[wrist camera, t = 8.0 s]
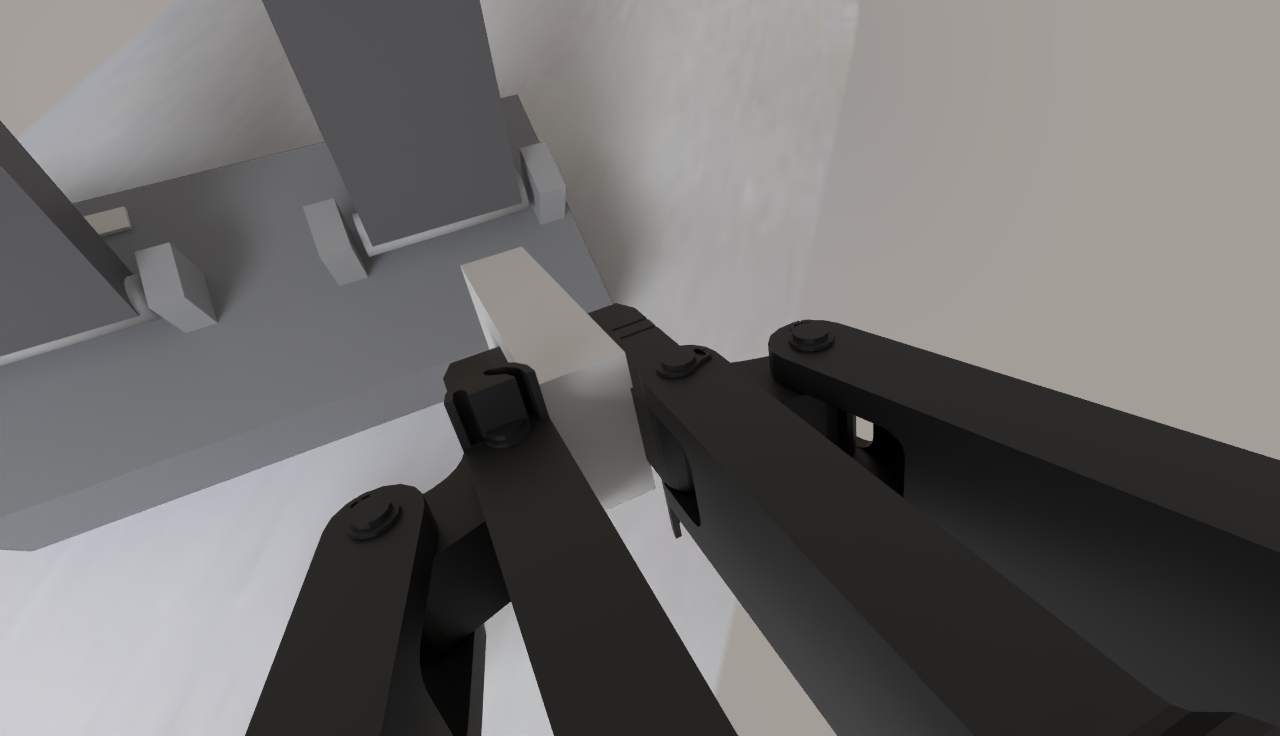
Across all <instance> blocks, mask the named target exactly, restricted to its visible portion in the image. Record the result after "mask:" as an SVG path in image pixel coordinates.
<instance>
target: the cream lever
mask: <svg viewBox="0 0 1280 736" xmlns="http://www.w3.org/2000/svg"><path fill="white" fill-rule="evenodd" d="M161 318H162V317H161V316H160V315H159V314H157V313H156V312H154V311H153V310H151V309H150V308H149V307H148V304H147V300H146V296H145V292H144V288H143V284H142V280H141V276H140V274H135V275H133V273H132V272H131V271H130V270H129V269H128V268H127V266H126V265H125V264H124V263H123V262H122V261H121V260H120V258H119V257H118V256H117V255H116V254H115V253H114V251H113V250H112V249H111V248H110V247H109V246H108V245H107V243H106V242H105V241H104V240H103V239H102V238H101V236H100V235H99V234H98V233H97V232H96V231H95V230H94V228H93V227H92V226H91V225H90V224H89V223H88V221H87V220H86V219H85V218H84V217H83V216H82V214H81V213H80V212H79V211H78V210H77V209H76V208H75V206H74V205H73V204H72V203H71V202H70V201H69V199H68V198H67V197H66V196H65V195H64V194H63V193H62V191H61V190H60V189H59V188H58V187H57V186H56V184H55V183H54V182H53V181H52V180H51V179H50V177H49V176H48V175H47V174H46V173H45V172H44V171H43V169H42V168H41V167H40V166H39V165H38V164H37V162H36V161H35V160H34V159H33V158H32V157H31V156H30V154H29V153H28V152H27V151H26V150H25V149H24V147H23V146H22V145H21V144H20V143H19V142H18V140H17V139H16V138H15V137H14V136H13V135H12V134H11V132H10V131H9V130H8V129H7V128H6V127H5V125H4V124H3V123H2V122H1V121H0V366H2V365H6V364H9V363H13V362H16V361H19V360H23V359H26V358H29V357H33V356H36V355H40V354H43V353H46V352H50V351H53V350H56V349H60V348H63V347H67V346H70V345H73V344H77V343H80V342H83V341H87V340H90V339H94V338H97V337H100V336H104V335H107V334H110V333H114V332H117V331H121V330H124V329H127V328H131V327H134V326H138V325H141V324H144V323H148V322H151V321H154V320H158V319H161Z"/></svg>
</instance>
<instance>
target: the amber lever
mask: <svg viewBox="0 0 1280 736" xmlns="http://www.w3.org/2000/svg"><path fill="white" fill-rule="evenodd" d="M262 1H263V3H264V6H265V8H266V10H267V12H268V15H269V17H270V19H271V21H272V23H273V26H274V28H275V30H276V32H277V35H278V37H279V39H280V41H281V44H282V46H283V48H284V50H285V53H286V55H287V57H288V59H289V61H290V64H291V66H292V68H293V70H294V73H295V75H296V77H297V79H298V82H299V84H300V86H301V88H302V90H303V93H304V95H305V97H306V99H307V102H308V104H309V106H310V108H311V111H312V113H313V115H314V117H315V119H316V122H317V124H318V126H319V128H320V131H321V133H322V135H323V137H324V140H325V142H326V144H327V146H328V149H329V151H330V153H331V155H332V157H333V160H334V162H335V164H336V166H337V169H338V171H339V173H340V175H341V178H342V180H343V182H344V184H345V186H346V189H347V191H348V193H349V195H350V198H351V200H352V202H353V204H354V207H355V209H356V211H357V213H355V214H352V216H353V220H354V223H355V225H356V228H357V231H358V233H359V236H360V238H361V240H362V243H363V245H364V247H365V249H366V252H367V253H368V255H369V257H370V256H374V255H377V254H381V253H384V252H387V251H391V250H394V249H398V248H401V247H404V246H408V245H411V244H414V243H418V242H421V241H425V240H428V239H431V238H435V237H438V236H441V235H445V234H448V233H452V232H455V231H458V230H462V229H465V228H468V227H472V226H475V225H479V224H482V223H485V222H489V221H492V220H495V219H499V218H502V217H506V216H509V215H512V214H516V213H519V212H523V211H526V210H529V202H528V197H527V193H526V190H525V187H524V184H523V181H522V179H521V177H520V175H519V173H518V171H517V170H516V169H515V166H514V162H513V157H512V152H511V147H510V143H509V138H508V133H507V128H506V124H505V119H504V114H503V109H502V105H501V100H500V95H499V90H498V86H497V81H496V76H495V72H494V67H493V62H492V57H491V53H490V48H489V43H488V38H487V34H486V29H485V24H484V19H483V15H482V10H481V5H480V0H262Z"/></svg>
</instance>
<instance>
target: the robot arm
mask: <svg viewBox="0 0 1280 736" xmlns="http://www.w3.org/2000/svg"><path fill="white" fill-rule="evenodd" d="M460 267H461V270H462V272H463V275H464V278H465V281H466V284H467V287H468V290H469V292H470V295H471V298H472V301H473V304H474V307H475V310H476V312H477V315H478V318H479V321H480V324H481V327H482V330H483V332H484V335H485V338H486V341H487V344H488V347H489V350H487V351H484V352H481V353H479V354H476V355H473V356H470V357H467V358H464V359H461V360H459V361H456V362H453V363H450V364H449V367H448V369H447V371H446V373H445V375H444V377H443V380H444V383H445V387H446V390H447V393H446V394H445V399H444V405H445V408H446V410H447V413H448V415H449V417H450V420H451V422H452V425H453V427H454V430H455V432H456V434H457V437H458V439H459V442H460V444H461V447H462V449H463V452H464V454H463V457H462V460H461V462H460V463H459V465H458V466H457V468H456V469H455V470H454V471H453V472H452V473H451V474H450V475H449V476H448V477H447V478H446V479H445V480H443V481H442V482H441V483H439V484H438V485H437V486H435V487H434V488H432V489H431V490H429V491H427V492H426V493H424V494H422V493H421V492H420V491H419V490H418V489H417V488H415V487H413V486H408V485H403V484H398V485H390V486H383V487H380V488H377V489H375V490H372V491H369V492H366V493H364V494H362V495H360V496H358V497H357V498H355V499H353V500H352V501H350V502H349V503H348V504H346V505H345V506H344V507H343V508H342V509H341V510H339V511H338V512H337V513H336V514H335V515H334V516H333V517H332V518H331V520H330V521H329V523H328V524H327V526H326V528H325V529H324V531H323V533H322V535H321V538H320V541H319V543H318V546H317V548H316V551H315V554H314V556H313V559H312V562H311V564H310V567H309V569H308V572H307V575H306V577H305V580H304V583H303V585H302V588H301V590H300V593H299V596H298V598H297V601H296V603H295V606H294V609H293V611H292V614H291V617H290V619H289V622H288V624H287V627H286V630H285V632H284V635H283V638H282V640H281V643H280V645H279V648H278V651H277V653H276V656H275V659H274V661H273V664H272V666H271V669H270V672H269V674H268V677H267V680H266V682H265V685H264V687H263V690H262V693H261V695H260V698H259V701H258V703H257V706H256V708H255V711H254V714H253V716H252V719H251V721H250V724H249V727H248V729H247V732H246V735H245V736H481V730H482V710H483V690H484V670H485V649H486V631H485V626H484V622H486V621H487V620H488V619H489V618H491V617H492V616H493V615H494V614H496V613H497V612H498V611H499V610H501V609H502V608H503V607H504V606H506V605H507V604H508V603H509V602H512V605H513V608H514V612H515V615H516V618H517V621H518V624H519V627H520V630H521V633H522V637H523V640H524V643H525V646H526V649H527V652H528V655H529V659H530V662H531V665H532V668H533V671H534V674H535V677H536V681H537V684H538V687H539V690H540V693H541V696H542V699H543V702H544V706H545V709H546V712H547V715H548V718H549V721H550V724H551V728H552V731H553V734H554V736H738V735H737V733H736V732H735V730H734V728H733V727H732V725H731V723H730V722H729V720H728V718H727V717H726V715H725V713H724V711H723V710H722V708H721V707H720V705H719V703H718V701H717V699H716V698H715V696H714V694H713V693H712V691H711V689H710V688H709V686H708V684H707V682H706V681H705V679H704V677H703V676H702V674H701V672H700V671H699V669H698V667H697V666H696V664H695V662H694V661H693V659H692V657H691V655H690V654H689V652H688V650H687V649H686V647H685V645H684V644H683V642H682V640H681V639H680V637H679V635H678V633H677V632H676V630H675V628H674V627H673V625H672V623H671V622H670V620H669V618H668V617H667V615H666V613H665V612H664V610H663V608H662V606H661V605H660V603H659V601H658V600H657V598H656V596H655V595H654V593H653V591H652V590H651V588H650V586H649V585H648V583H647V581H646V579H645V578H644V576H643V574H642V573H641V571H640V569H639V568H638V566H637V564H636V563H635V561H634V559H633V557H632V556H631V554H630V552H629V551H628V549H627V547H626V546H625V544H624V542H623V541H622V539H621V537H620V536H619V534H618V532H617V530H616V529H615V527H614V525H613V524H612V522H611V520H610V519H609V517H608V515H607V514H606V512H605V510H607V509H610V508H612V507H614V506H616V505H619V504H621V503H623V502H625V501H628V500H630V499H632V498H634V497H637V496H639V495H641V494H643V493H646V492H648V491H650V490H652V489H655V484H654V479H653V475H652V470H651V466H650V464H651V465H652V467H653V468H654V469H655V471H656V472H657V473H658V475H659V476H660V477H661V479H662V483H663V488H664V492H665V497H666V502H667V506H668V511H669V516H670V520H671V525H672V529H673V532H674V535H675V537H676V538H678V537H681V536H682V534H681V530H680V525H679V524H680V521H681V523H682V524H683V526H684V527H685V528H686V530H687V531H688V532H689V534H690V535H691V536H692V538H693V539H694V541H695V542H696V543H697V545H698V546H699V547H700V549H701V550H702V551H703V553H704V554H705V556H706V557H707V558H708V560H709V561H710V562H711V564H712V565H713V567H714V568H715V569H716V571H717V572H718V573H719V575H720V576H721V577H722V579H723V580H724V582H725V583H726V584H727V586H728V587H729V588H730V590H731V591H732V592H733V594H734V595H735V597H736V598H737V599H738V601H739V602H740V603H741V605H742V606H743V607H744V609H745V610H746V612H747V613H748V614H749V615H750V617H751V618H752V620H753V621H754V623H755V624H756V625H757V626H758V628H759V629H760V631H761V632H762V633H763V635H764V636H765V637H766V639H767V640H768V642H769V643H770V644H771V646H772V647H773V648H774V650H775V651H776V653H777V654H778V655H779V657H780V658H781V659H782V661H783V662H784V664H785V665H786V666H787V667H788V669H789V670H790V672H791V673H792V674H793V676H794V677H795V678H796V680H797V681H798V682H799V684H800V685H801V687H802V688H803V689H804V691H805V692H806V694H807V695H808V696H809V698H810V699H811V700H812V702H813V703H814V704H815V706H816V707H817V709H818V710H819V711H820V713H821V714H822V715H823V717H824V718H825V719H826V721H827V722H828V724H829V725H830V726H831V728H832V729H833V730H834V732H835V733H836V734H837V736H1280V460H1277V459H1273V458H1271V457H1267V456H1264V455H1261V454H1258V453H1254V452H1251V451H1248V450H1245V449H1241V448H1238V447H1235V446H1232V445H1229V444H1226V443H1222V442H1219V441H1216V440H1212V439H1209V438H1206V437H1203V436H1200V435H1197V434H1193V433H1190V432H1187V431H1183V430H1180V429H1177V428H1174V427H1170V426H1167V425H1164V424H1161V423H1158V422H1155V421H1151V420H1148V419H1145V418H1142V417H1138V416H1135V415H1132V414H1129V413H1126V412H1122V411H1119V410H1116V409H1113V408H1110V407H1106V406H1103V405H1100V404H1097V403H1093V402H1090V401H1087V400H1084V399H1081V398H1078V397H1074V396H1071V395H1068V394H1065V393H1061V392H1058V391H1055V390H1052V389H1049V388H1045V387H1042V386H1039V385H1035V384H1032V383H1029V382H1026V381H1023V380H1020V379H1016V378H1013V377H1010V376H1007V375H1003V374H1000V373H997V372H993V371H990V370H987V369H984V368H981V367H978V366H974V365H971V364H968V363H965V362H962V361H958V360H955V359H952V358H949V357H946V356H942V355H939V354H936V353H933V352H929V351H926V350H923V349H920V348H916V347H913V346H910V345H907V344H904V343H901V342H897V341H894V340H891V339H888V338H885V337H881V336H878V335H875V334H871V333H868V332H865V331H862V330H859V329H855V328H852V327H849V326H846V325H843V324H839V323H835V322H830V321H824V320H802V321H801V322H799V321H797V322H794V323H791V324H789V325H786V326H784V327H782V328H779V329H778V330H777V331H776V332H774V333H773V334H772V335H771V336H770V339H769V342H768V349H769V356H767V357H762V358H757V359H751V360H746V361H740V362H732V363H730V362H729V361H727V360H726V359H725V358H723V357H722V356H721V355H720V354H718V353H717V352H716V351H713V350H711V349H709V348H707V347H704V346H697V345H683V346H679V345H678V344H677V343H676V342H675V341H673V340H672V339H671V338H670V337H669V336H667V335H666V334H665V333H664V332H663V331H662V330H660V329H659V328H658V327H655V325H654V324H653V323H652V322H651V321H650V320H648V319H646V317H645V316H644V315H642V314H641V313H640V312H639V311H638V310H637V309H635V308H633V307H629V306H625V305H621V304H617V303H615V304H612V305H610V306H607V307H604V308H601V309H598V310H595V311H592V312H590V313H586V312H585V311H584V310H583V309H582V308H581V307H580V306H579V305H578V304H577V303H576V302H575V301H574V300H573V299H572V298H571V297H570V295H569V294H568V293H567V292H566V291H565V290H564V289H563V288H562V287H561V286H560V285H559V284H558V283H557V282H556V281H555V280H554V279H553V278H552V277H551V276H550V275H549V274H548V273H547V272H546V271H545V270H544V269H543V268H542V267H541V266H540V265H539V264H538V263H537V262H536V261H535V260H534V259H533V258H532V257H531V256H530V254H529V253H528V252H527V251H526V250H525V249H524V248H523V247H518V248H515V249H512V250H509V251H505V252H502V253H499V254H496V255H493V256H489V257H486V258H483V259H480V260H477V261H473V262H470V263H467V264H464V265H461V266H460ZM856 416H858V417H860V418H863V419H865V420H867V421H869V422H872V423H873V441H867V440H863V439H861V438H859V437H857V436H856Z"/></svg>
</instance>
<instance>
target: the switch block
mask: <svg viewBox="0 0 1280 736" xmlns="http://www.w3.org/2000/svg"><path fill="white" fill-rule="evenodd" d="M500 100H501V105H502V109H503V114H504V119H505V124H506V128H507V133H508V138H509V143H510V147H511V152H512V157H513V162H514V166H515V169H516V170H517V171H518V173H519V175H520V177H521V179H522V181H523V184H524V187H525V190H526V193H527V197H528V202H529V210H526V211H523V212H519V213H516V214H512V215H509V216H506V217H502V218H499V219H495V220H492V221H489V222H485V223H482V224H479V225H475V226H472V227H468V228H465V229H462V230H458V231H455V232H452V233H448V234H445V235H441V236H438V237H435V238H431V239H428V240H425V241H421V242H418V243H414V244H411V245H408V246H404V247H401V248H398V249H394V250H391V251H387V252H384V253H381V254H377V255H374V256H370V257H369V255H368V253H367V252H366V249H365V247H364V245H363V243H362V240H361V238H360V236H359V233H358V231H357V228H356V225H355V223H354V220H353V216H352V214H355V213H357V211H356V209H355V207H354V204H353V202H352V200H351V198H350V195H349V193H348V191H347V189H346V186H345V184H344V182H343V180H342V178H341V175H340V173H339V171H338V169H337V166H336V164H335V162H334V160H333V157H332V155H331V153H330V151H329V149H328V146H327V144H326V142H322V143H318V144H314V145H310V146H306V147H301V148H297V149H293V150H289V151H285V152H281V153H277V154H273V155H269V156H265V157H261V158H257V159H253V160H249V161H244V162H240V163H236V164H232V165H228V166H224V167H220V168H216V169H212V170H208V171H204V172H200V173H196V174H191V175H187V176H183V177H179V178H175V179H171V180H167V181H163V182H159V183H155V184H151V185H147V186H143V187H138V188H134V189H130V190H126V191H122V192H118V193H114V194H110V195H106V196H102V197H98V198H94V199H90V200H85V201H81V202H77V203H73V205H74V206H75V208H76V209H77V210H78V211H79V212H80V213H81V214H82V216H83V217H84V218H85V219H86V220H87V221H88V223H89V224H90V225H91V226H92V227H93V228H94V230H95V231H96V232H97V233H98V234H99V235H100V236H101V238H102V239H103V240H104V241H105V242H106V243H107V245H108V246H109V247H110V248H111V249H112V250H113V251H114V253H115V254H116V255H117V256H118V257H119V258H120V260H121V261H122V262H123V263H124V264H125V265H126V266H127V268H128V269H129V270H130V271H131V272H132V273H133V275H135V274H140V276H141V280H142V284H143V288H144V292H145V296H146V300H147V304H148V307H149V308H150V309H151V310H153V311H154V312H156V313H157V314H159V315H160V316H161V317H162V318H161V319H158V320H154V321H151V322H148V323H144V324H141V325H138V326H134V327H131V328H127V329H124V330H121V331H117V332H114V333H110V334H107V335H104V336H100V337H97V338H94V339H90V340H87V341H83V342H80V343H77V344H73V345H70V346H67V347H63V348H60V349H56V350H53V351H50V352H46V353H43V354H40V355H36V356H33V357H29V358H26V359H23V360H19V361H16V362H13V363H9V364H6V365H2V366H0V550H16V551H34V550H37V549H39V548H42V547H45V546H48V545H50V544H53V543H56V542H59V541H61V540H64V539H67V538H70V537H72V536H75V535H78V534H81V533H83V532H86V531H89V530H92V529H94V528H97V527H100V526H103V525H105V524H108V523H111V522H114V521H116V520H119V519H122V518H124V517H127V516H130V515H133V514H135V513H138V512H141V511H144V510H146V509H149V508H152V507H155V506H157V505H160V504H163V503H166V502H168V501H171V500H174V499H177V498H179V497H182V496H185V495H188V494H190V493H193V492H196V491H198V490H201V489H204V488H207V487H209V486H212V485H215V484H218V483H220V482H223V481H226V480H229V479H231V478H234V477H237V476H240V475H242V474H245V473H248V472H251V471H253V470H256V469H259V468H262V467H264V466H267V465H270V464H272V463H275V462H278V461H281V460H283V459H286V458H289V457H292V456H294V455H297V454H300V453H303V452H305V451H308V450H311V449H314V448H316V447H319V446H322V445H325V444H327V443H330V442H333V441H336V440H338V439H341V438H344V437H347V436H349V435H352V434H355V433H357V432H360V431H363V430H366V429H368V428H371V427H374V426H377V425H379V424H382V423H385V422H388V421H390V420H393V419H396V418H399V417H401V416H404V415H407V414H410V413H412V412H415V411H418V410H421V409H423V408H426V407H429V406H431V405H434V404H437V403H440V402H442V401H444V399H445V394H446V393H447V390H446V387H445V383H444V380H443V377H444V375H445V373H446V371H447V369H448V367H449V364H450V363H453V362H456V361H459V360H461V359H464V358H467V357H470V356H473V355H476V354H479V353H481V352H484V351H487V350H489V347H488V344H487V341H486V338H485V335H484V332H483V330H482V327H481V324H480V321H479V318H478V315H477V312H476V310H475V307H474V304H473V301H472V298H471V295H470V292H469V290H468V287H467V284H466V281H465V278H464V275H463V272H462V270H461V267H460V266H461V265H464V264H467V263H470V262H473V261H477V260H480V259H483V258H486V257H489V256H493V255H496V254H499V253H502V252H505V251H509V250H512V249H515V248H518V247H523V248H524V249H525V250H526V251H527V252H528V253H529V254H530V256H531V257H532V258H533V259H534V260H535V261H536V262H537V263H538V264H539V265H540V266H541V267H542V268H543V269H544V270H545V271H546V272H547V273H548V274H549V275H550V276H551V277H552V278H553V279H554V280H555V281H556V282H557V283H558V284H559V285H560V286H561V287H562V288H563V289H564V290H565V291H566V292H567V293H568V294H569V295H570V297H571V298H572V299H573V300H574V301H575V302H576V303H577V304H578V305H579V306H580V307H581V308H582V309H583V310H584V311H585V312H586V313H590V312H592V311H595V310H598V309H601V308H604V307H607V306H610V305H612V304H613V303H612V300H611V298H610V296H609V294H608V292H607V290H606V287H605V285H604V283H603V281H602V279H601V276H600V274H599V272H598V270H597V268H596V265H595V263H594V261H593V259H592V257H591V255H590V252H589V250H588V248H587V246H586V244H585V241H584V239H583V237H582V235H581V233H580V231H579V228H578V226H577V224H576V222H575V220H574V217H573V215H572V213H571V211H570V209H569V206H568V204H567V202H566V184H565V182H564V180H563V178H562V176H561V173H560V171H559V169H558V167H557V165H556V163H555V160H554V158H553V156H552V154H551V152H550V150H549V147H548V145H547V143H546V141H545V142H541V143H539V141H538V139H537V137H536V134H535V132H534V130H533V128H532V126H531V123H530V121H529V119H528V117H527V115H526V113H525V110H524V108H523V106H522V104H521V102H520V99H519V97H518V95H513V96H509V97H505V98H501V99H500Z"/></svg>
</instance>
